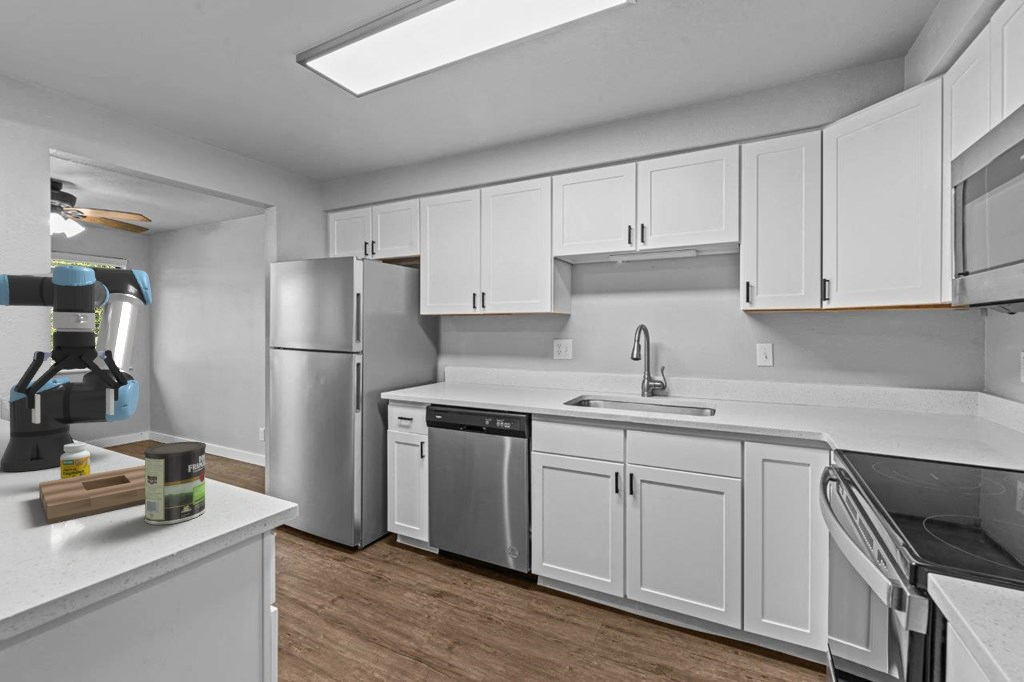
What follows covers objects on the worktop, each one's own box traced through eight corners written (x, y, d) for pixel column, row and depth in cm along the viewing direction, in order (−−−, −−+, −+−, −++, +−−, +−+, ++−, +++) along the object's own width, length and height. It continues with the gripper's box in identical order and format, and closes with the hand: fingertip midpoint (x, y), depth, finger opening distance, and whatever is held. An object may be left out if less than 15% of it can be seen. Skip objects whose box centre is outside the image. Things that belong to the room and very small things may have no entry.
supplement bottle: (92, 478, 119) (92, 440, 118) (88, 484, 114) (88, 445, 114) (63, 482, 116) (63, 443, 115) (57, 488, 111) (57, 448, 111)
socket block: (39, 498, 105) (39, 482, 105) (150, 478, 120) (150, 464, 120) (47, 524, 92) (47, 506, 91) (172, 497, 107) (171, 482, 106)
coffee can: (214, 504, 103) (214, 440, 103) (190, 524, 93) (190, 452, 93) (162, 506, 101) (162, 441, 101) (132, 526, 91) (132, 454, 91)
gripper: (4, 330, 101) (5, 428, 102) (142, 331, 123) (143, 412, 123) (-6, 329, 105) (-5, 424, 106) (130, 330, 127) (130, 409, 127)
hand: (74, 418), depth 114 cm, fingers open, 13 cm apart
